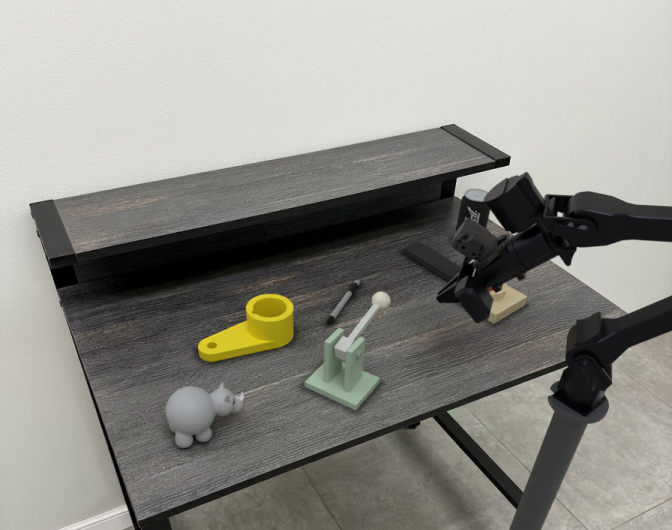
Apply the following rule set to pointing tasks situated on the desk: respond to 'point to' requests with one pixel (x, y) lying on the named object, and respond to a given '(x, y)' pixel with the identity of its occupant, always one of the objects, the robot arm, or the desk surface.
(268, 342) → the crank
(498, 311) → the button box
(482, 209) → the beverage can
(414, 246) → the remote control
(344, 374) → the bracket
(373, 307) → the lever
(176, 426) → the round bodied animal figurine
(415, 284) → the desk surface
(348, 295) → the pen
